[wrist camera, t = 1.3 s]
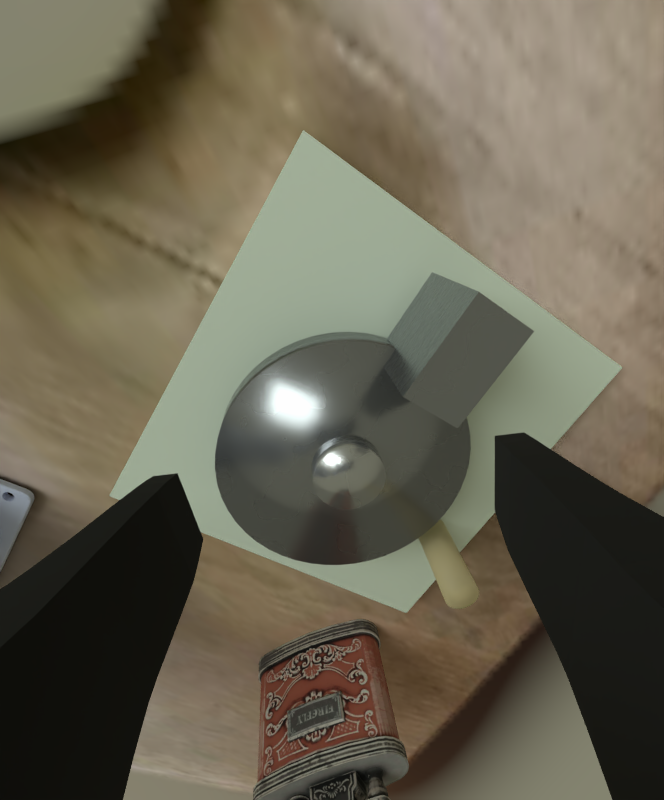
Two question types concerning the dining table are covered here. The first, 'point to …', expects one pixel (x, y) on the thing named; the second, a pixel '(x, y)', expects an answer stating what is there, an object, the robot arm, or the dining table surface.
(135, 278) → the dining table surface
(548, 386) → the board
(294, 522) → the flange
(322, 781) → the lighter
